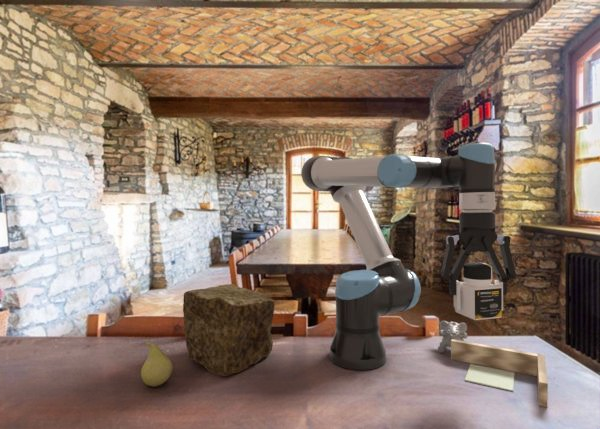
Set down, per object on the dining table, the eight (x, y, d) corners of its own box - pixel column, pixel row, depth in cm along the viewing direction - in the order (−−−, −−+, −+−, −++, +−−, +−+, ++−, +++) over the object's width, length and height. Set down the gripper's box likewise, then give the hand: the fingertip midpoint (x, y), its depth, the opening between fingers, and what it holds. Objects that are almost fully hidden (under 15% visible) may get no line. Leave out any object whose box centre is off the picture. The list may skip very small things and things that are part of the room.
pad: (464, 380, 89) (464, 379, 89) (470, 364, 98) (470, 363, 98) (513, 391, 84) (513, 390, 84) (514, 373, 92) (514, 372, 92)
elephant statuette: (441, 358, 103) (442, 331, 102) (428, 339, 115) (429, 315, 114) (475, 359, 102) (476, 332, 102) (459, 340, 114) (460, 315, 114)
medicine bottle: (475, 320, 82) (474, 266, 82) (454, 312, 89) (454, 262, 89) (502, 318, 84) (502, 264, 84) (480, 309, 91) (479, 260, 91)
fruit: (178, 380, 90) (177, 331, 90) (156, 395, 83) (155, 342, 83) (155, 376, 93) (154, 328, 92) (132, 391, 86) (131, 339, 85)
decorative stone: (226, 276, 116) (281, 283, 106) (226, 340, 116) (280, 354, 107) (172, 288, 97) (231, 299, 88) (172, 366, 98) (231, 384, 88)
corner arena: (439, 382, 88) (439, 361, 88) (451, 357, 103) (451, 339, 102) (547, 407, 77) (547, 383, 77) (544, 375, 92) (544, 355, 91)
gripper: (433, 212, 84) (434, 313, 84) (534, 210, 81) (535, 314, 82) (425, 212, 91) (426, 304, 92) (518, 210, 89) (518, 305, 89)
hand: (477, 308), depth 87 cm, fingers closed on medicine bottle, 9 cm apart
